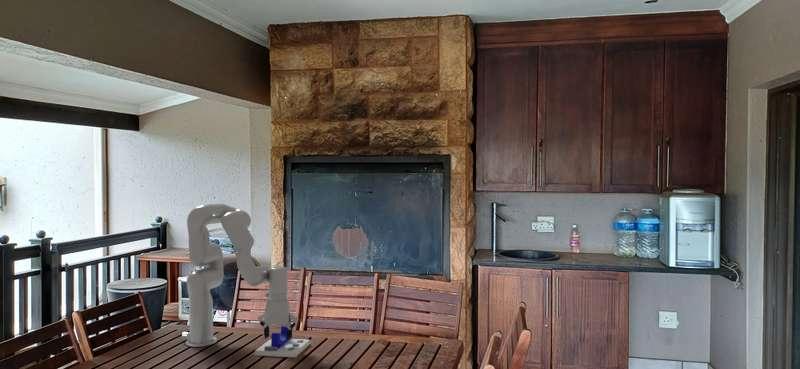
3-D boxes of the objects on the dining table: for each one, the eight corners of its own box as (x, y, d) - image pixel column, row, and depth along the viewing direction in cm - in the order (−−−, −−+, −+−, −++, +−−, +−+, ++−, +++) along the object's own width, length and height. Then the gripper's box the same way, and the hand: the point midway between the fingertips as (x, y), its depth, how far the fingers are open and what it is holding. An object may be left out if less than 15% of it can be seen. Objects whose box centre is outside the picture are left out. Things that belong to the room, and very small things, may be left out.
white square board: (255, 355, 216) (255, 346, 216) (271, 342, 233) (271, 334, 233) (295, 357, 213) (295, 348, 213) (309, 344, 230) (309, 336, 230)
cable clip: (279, 339, 230) (279, 325, 230) (289, 340, 229) (289, 326, 229) (267, 348, 218) (267, 333, 218) (278, 349, 218) (278, 334, 217)
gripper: (254, 297, 221) (254, 339, 221) (294, 299, 218) (294, 341, 218) (262, 294, 228) (262, 334, 229) (301, 295, 225) (301, 336, 226)
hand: (278, 337), depth 223 cm, fingers open, 9 cm apart
